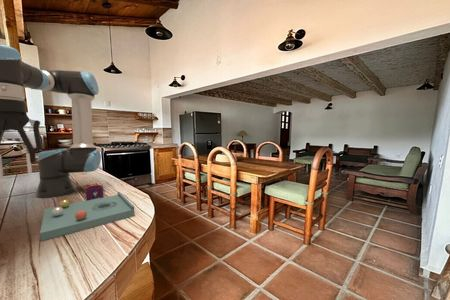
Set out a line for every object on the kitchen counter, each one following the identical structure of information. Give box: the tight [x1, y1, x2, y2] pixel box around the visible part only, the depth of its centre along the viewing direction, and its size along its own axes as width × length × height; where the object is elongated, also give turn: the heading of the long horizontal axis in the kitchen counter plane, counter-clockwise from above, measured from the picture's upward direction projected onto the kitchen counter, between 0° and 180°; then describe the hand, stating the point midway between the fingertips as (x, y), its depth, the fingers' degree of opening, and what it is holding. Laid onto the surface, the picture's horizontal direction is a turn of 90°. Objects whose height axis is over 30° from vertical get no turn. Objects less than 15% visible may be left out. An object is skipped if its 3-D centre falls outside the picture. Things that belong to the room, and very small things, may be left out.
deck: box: [39, 191, 135, 242], centre depth 74 cm, size 24×26×4 cm
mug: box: [85, 184, 105, 201], centre depth 91 cm, size 7×10×7 cm
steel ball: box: [52, 206, 64, 216], centre depth 68 cm, size 3×3×3 cm
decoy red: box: [75, 210, 87, 220], centre depth 65 cm, size 3×3×3 cm
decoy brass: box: [58, 198, 71, 208], centre depth 76 cm, size 3×3×3 cm
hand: (15, 174), depth 61 cm, fingers open, 6 cm apart
